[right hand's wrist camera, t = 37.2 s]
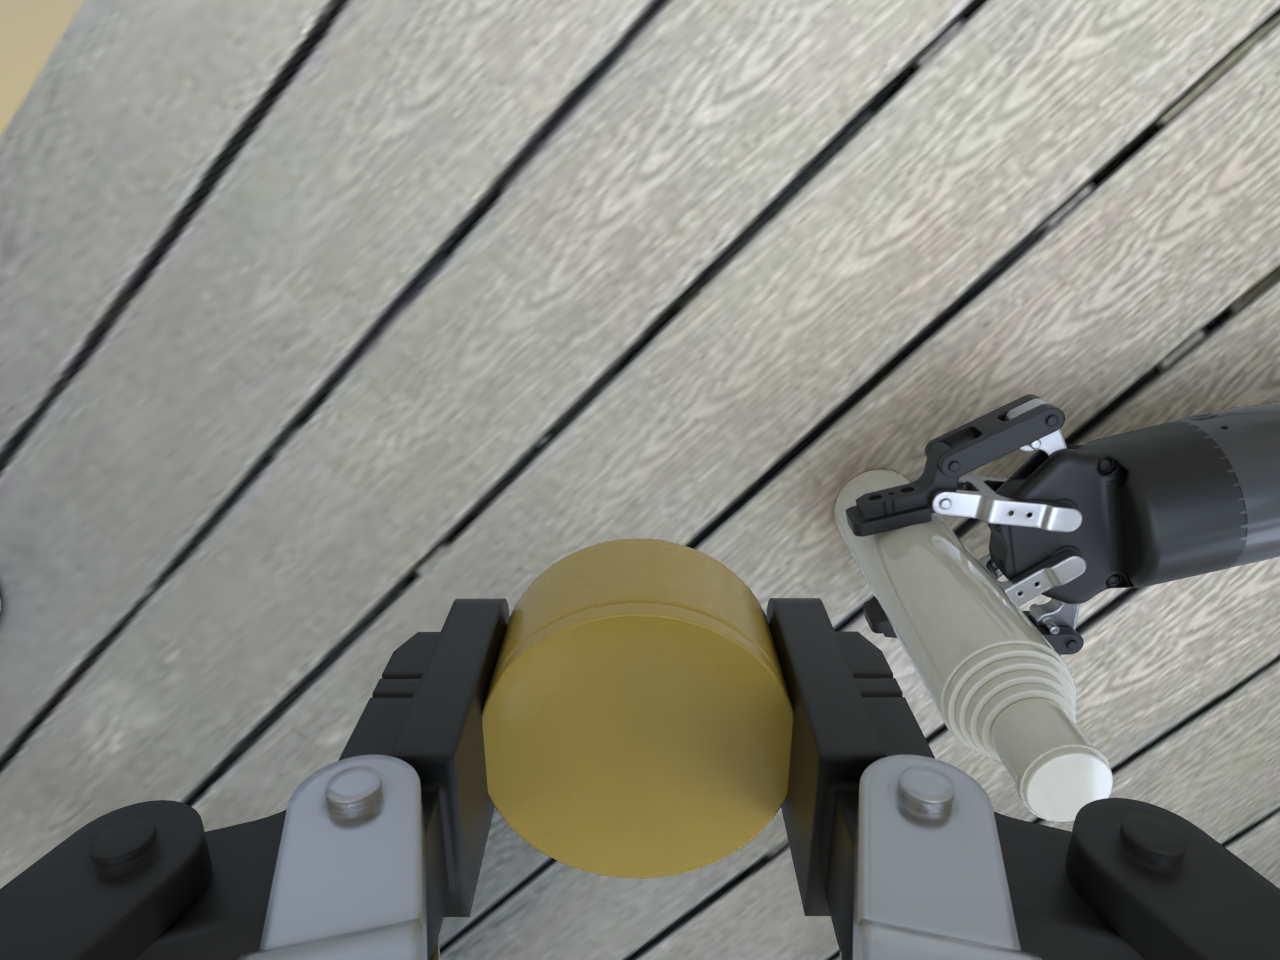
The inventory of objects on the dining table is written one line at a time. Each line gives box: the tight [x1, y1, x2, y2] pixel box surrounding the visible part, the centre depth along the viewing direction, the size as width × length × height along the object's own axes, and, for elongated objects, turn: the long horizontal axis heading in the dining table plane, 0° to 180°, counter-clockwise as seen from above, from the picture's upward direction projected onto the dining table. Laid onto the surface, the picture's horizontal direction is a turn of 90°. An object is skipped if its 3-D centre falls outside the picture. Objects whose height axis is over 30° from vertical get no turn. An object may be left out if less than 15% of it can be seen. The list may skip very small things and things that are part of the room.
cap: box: [482, 539, 793, 878], centre depth 11 cm, size 4×4×2 cm
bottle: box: [834, 470, 1113, 822], centre depth 37 cm, size 5×5×23 cm
